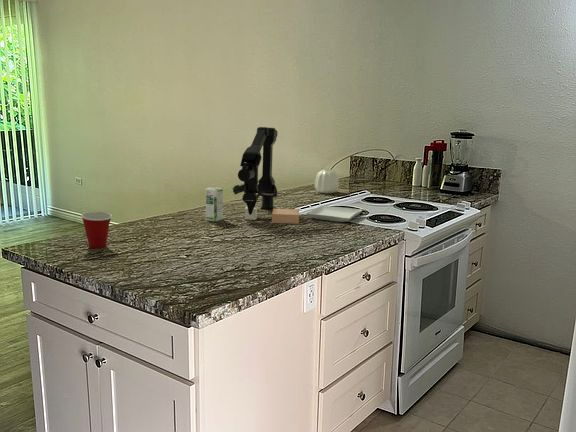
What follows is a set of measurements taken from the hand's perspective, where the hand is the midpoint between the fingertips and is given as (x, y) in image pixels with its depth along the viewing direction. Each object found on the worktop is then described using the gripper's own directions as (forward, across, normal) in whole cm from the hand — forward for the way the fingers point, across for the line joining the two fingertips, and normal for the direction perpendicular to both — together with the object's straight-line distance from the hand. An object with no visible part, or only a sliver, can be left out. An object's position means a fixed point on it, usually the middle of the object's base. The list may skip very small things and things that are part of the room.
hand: (251, 212), depth 262 cm
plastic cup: (+3, +55, -51) cm, 75 cm away
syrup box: (+3, +6, -16) cm, 17 cm away
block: (+3, 0, 0) cm, 3 cm away
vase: (+3, -74, +37) cm, 83 cm away
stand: (+3, +2, +16) cm, 16 cm away
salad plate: (+3, -8, +38) cm, 39 cm away
